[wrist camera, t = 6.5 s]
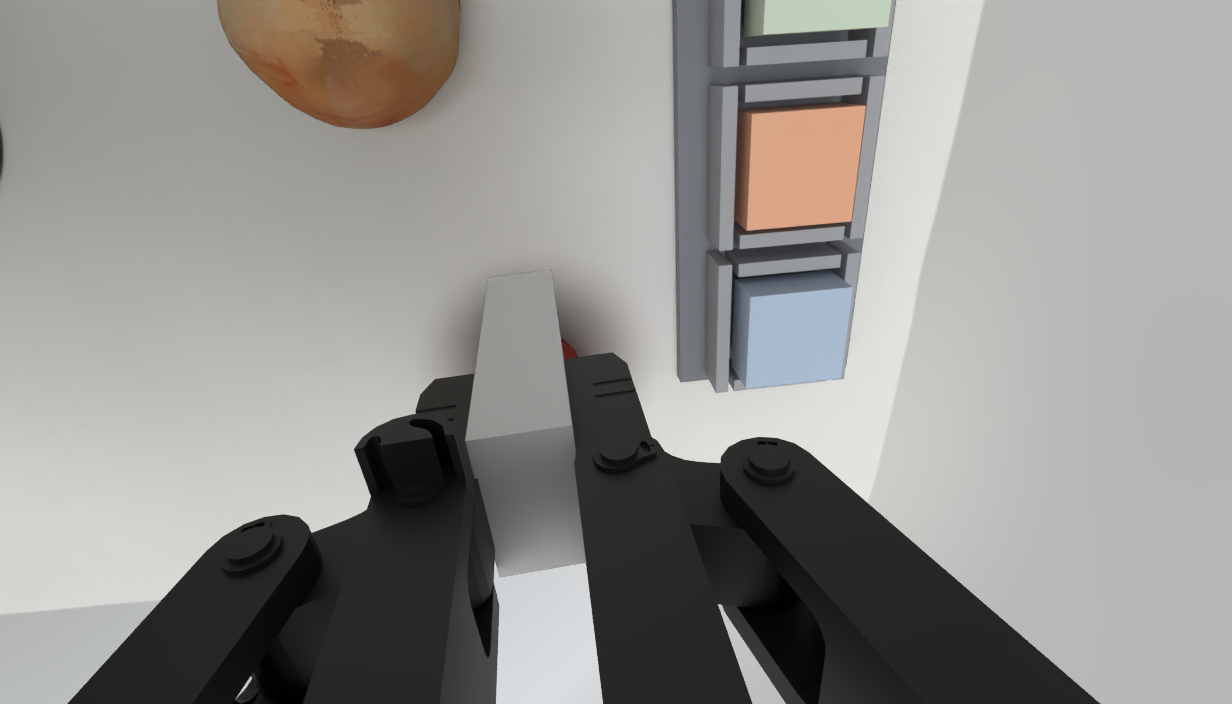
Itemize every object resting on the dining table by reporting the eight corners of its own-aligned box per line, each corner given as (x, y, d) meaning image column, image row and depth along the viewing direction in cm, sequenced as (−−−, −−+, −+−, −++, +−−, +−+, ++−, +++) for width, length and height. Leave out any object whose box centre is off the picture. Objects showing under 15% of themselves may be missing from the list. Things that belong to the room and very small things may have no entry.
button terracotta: (734, 109, 32) (752, 114, 29) (839, 101, 33) (865, 105, 30) (731, 217, 35) (746, 230, 32) (828, 209, 35) (851, 221, 33)
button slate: (734, 279, 35) (750, 297, 33) (830, 270, 36) (853, 287, 33) (731, 366, 38) (745, 389, 35) (820, 356, 39) (840, 378, 36)
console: (667, -419, 24) (689, -501, 21) (941, -421, 25) (1007, -500, 22) (677, 375, 42) (690, 404, 38) (839, 358, 42) (867, 385, 39)
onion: (224, -42, 28) (77, -89, 19) (405, -141, 27) (338, -238, 18) (346, 149, 33) (272, 182, 24) (505, 69, 32) (490, 73, 23)
